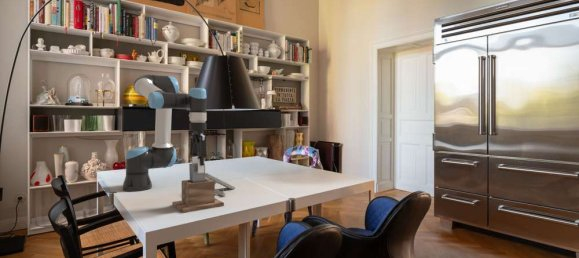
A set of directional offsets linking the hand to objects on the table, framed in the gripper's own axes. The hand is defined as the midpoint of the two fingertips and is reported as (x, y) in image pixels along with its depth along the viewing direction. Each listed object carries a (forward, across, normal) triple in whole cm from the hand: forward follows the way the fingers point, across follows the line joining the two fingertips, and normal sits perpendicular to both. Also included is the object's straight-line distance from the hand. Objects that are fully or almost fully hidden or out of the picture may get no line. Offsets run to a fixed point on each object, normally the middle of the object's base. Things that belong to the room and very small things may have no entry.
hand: (198, 171), depth 150 cm
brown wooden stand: (+16, 0, 0) cm, 16 cm away
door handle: (+17, -17, +21) cm, 32 cm away
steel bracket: (+10, 0, 0) cm, 10 cm away
